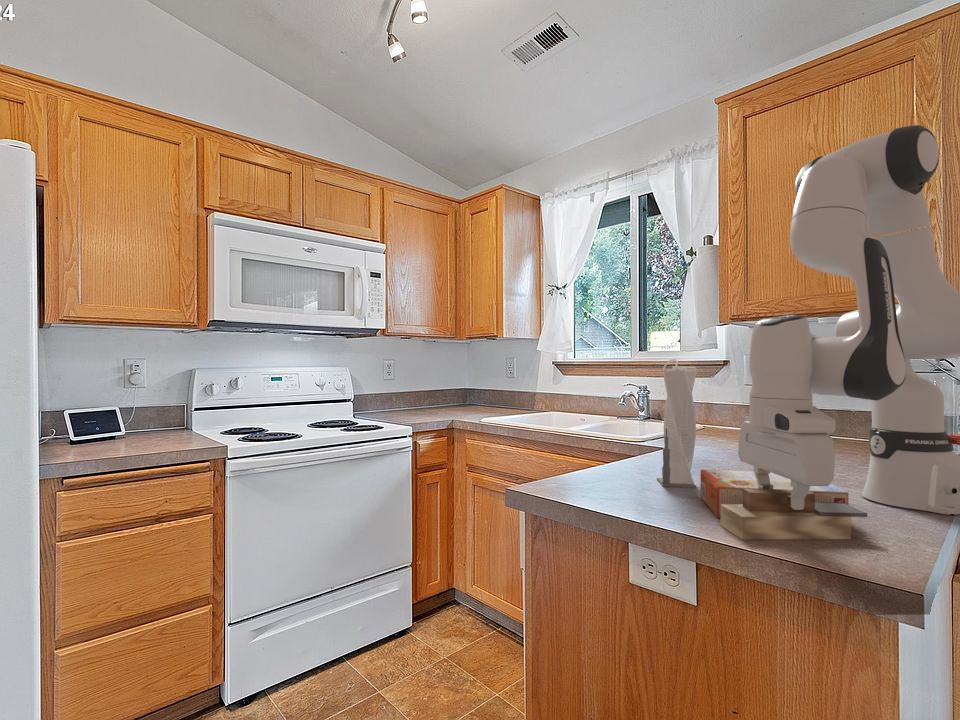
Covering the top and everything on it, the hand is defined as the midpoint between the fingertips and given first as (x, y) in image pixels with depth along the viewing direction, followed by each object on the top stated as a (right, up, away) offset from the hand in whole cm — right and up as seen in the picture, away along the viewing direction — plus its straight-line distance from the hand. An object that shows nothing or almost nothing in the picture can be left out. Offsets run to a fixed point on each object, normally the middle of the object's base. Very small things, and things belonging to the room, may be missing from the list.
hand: (779, 501), depth 84 cm
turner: (+3, -1, 0) cm, 3 cm away
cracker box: (-6, -2, +14) cm, 15 cm away
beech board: (+1, -5, 0) cm, 5 cm away
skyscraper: (-4, -5, +34) cm, 35 cm away
